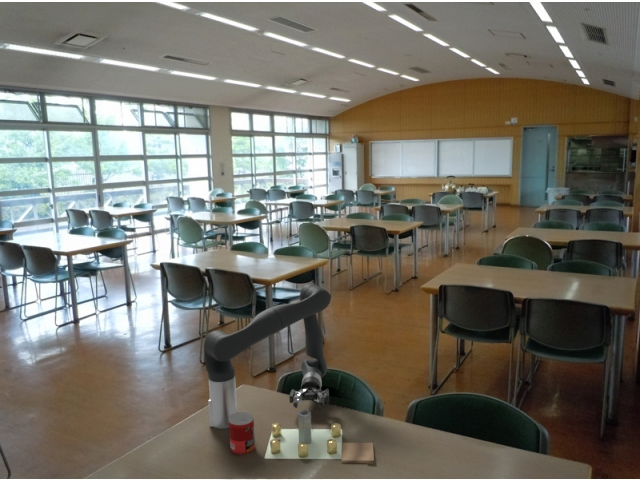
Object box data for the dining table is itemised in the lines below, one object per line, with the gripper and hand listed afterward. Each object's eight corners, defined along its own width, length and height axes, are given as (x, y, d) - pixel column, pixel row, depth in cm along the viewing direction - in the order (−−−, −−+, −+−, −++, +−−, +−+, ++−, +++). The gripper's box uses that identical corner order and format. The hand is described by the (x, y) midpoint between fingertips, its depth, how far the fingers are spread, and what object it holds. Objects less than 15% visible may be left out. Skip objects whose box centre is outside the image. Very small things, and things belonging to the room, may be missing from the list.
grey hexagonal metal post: (298, 445, 171) (297, 416, 170) (299, 437, 176) (298, 409, 174) (310, 445, 171) (310, 416, 170) (311, 437, 176) (311, 409, 174)
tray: (341, 463, 161) (341, 460, 161) (341, 446, 171) (341, 442, 171) (374, 464, 160) (374, 460, 160) (372, 446, 170) (372, 442, 170)
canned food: (250, 456, 166) (249, 424, 165) (226, 454, 168) (224, 422, 166) (258, 443, 174) (256, 412, 172) (235, 441, 175) (233, 410, 174)
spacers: (265, 457, 165) (265, 447, 164) (272, 432, 180) (272, 423, 179) (340, 458, 163) (339, 447, 163) (340, 432, 178) (340, 423, 178)
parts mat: (264, 459, 164) (264, 458, 164) (272, 430, 182) (272, 429, 182) (341, 460, 163) (341, 458, 163) (342, 430, 181) (342, 429, 181)
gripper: (292, 376, 199) (287, 395, 184) (329, 375, 199) (328, 395, 183) (293, 394, 201) (288, 415, 185) (330, 394, 200) (328, 415, 184)
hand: (308, 405), depth 184 cm, fingers open, 8 cm apart
